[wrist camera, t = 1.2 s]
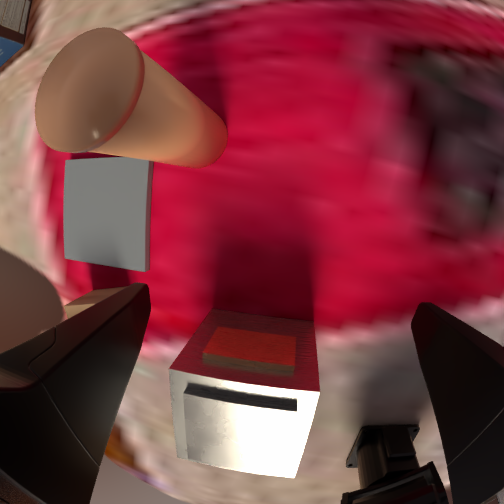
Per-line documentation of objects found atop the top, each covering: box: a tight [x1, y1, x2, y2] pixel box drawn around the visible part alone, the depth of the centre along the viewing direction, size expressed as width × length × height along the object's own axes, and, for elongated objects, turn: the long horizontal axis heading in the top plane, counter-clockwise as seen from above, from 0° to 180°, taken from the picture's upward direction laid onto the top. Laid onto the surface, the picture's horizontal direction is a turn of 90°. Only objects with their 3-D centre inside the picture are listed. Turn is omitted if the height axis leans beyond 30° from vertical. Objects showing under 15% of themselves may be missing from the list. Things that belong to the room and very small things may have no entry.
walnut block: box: [64, 286, 128, 319], centre depth 23 cm, size 4×4×4 cm
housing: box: [169, 308, 320, 478], centre depth 19 cm, size 8×8×10 cm
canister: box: [35, 27, 228, 168], centre depth 15 cm, size 5×5×14 cm
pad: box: [64, 157, 154, 272], centre depth 23 cm, size 9×9×1 cm
